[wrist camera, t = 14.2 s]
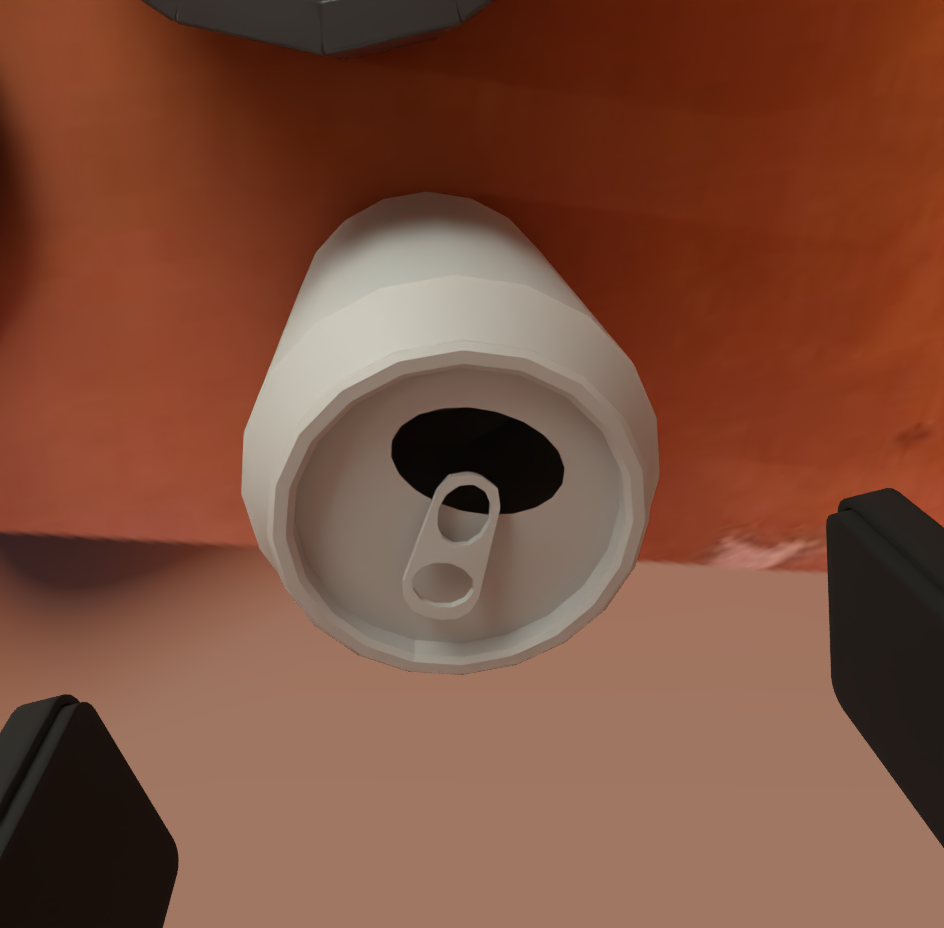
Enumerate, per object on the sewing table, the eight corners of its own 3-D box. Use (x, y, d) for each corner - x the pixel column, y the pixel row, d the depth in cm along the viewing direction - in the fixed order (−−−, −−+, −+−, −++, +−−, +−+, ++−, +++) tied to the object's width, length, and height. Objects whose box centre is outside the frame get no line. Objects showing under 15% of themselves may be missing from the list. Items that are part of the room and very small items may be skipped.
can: (591, 234, 23) (775, 385, 12) (505, 460, 26) (590, 742, 15) (334, 149, 21) (279, 234, 10) (274, 401, 24) (183, 671, 13)
